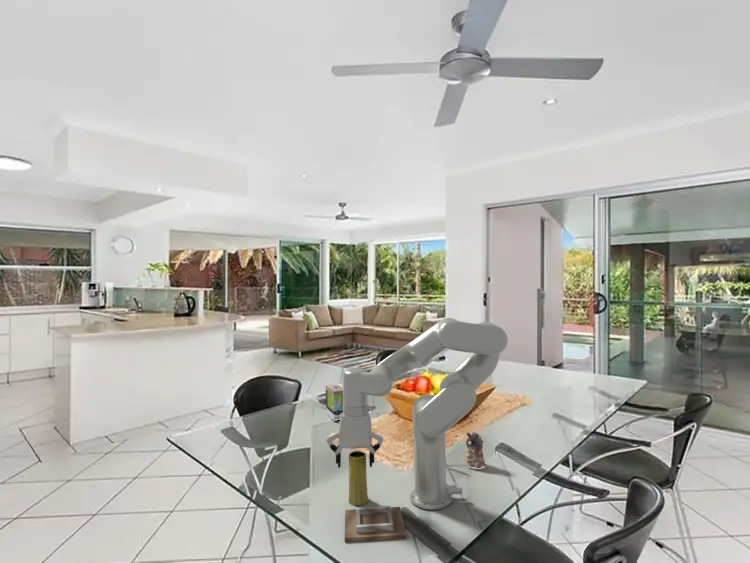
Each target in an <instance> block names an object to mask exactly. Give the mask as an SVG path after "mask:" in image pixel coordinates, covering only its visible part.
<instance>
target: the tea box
mask: <svg viewBox="0 0 750 563" xmlns="http://www.w3.org/2000/svg"><path fill="white" fill-rule="evenodd" d="M341 413H343V383H336V384H327V385H325V414H326V415H327V416H328V417H329V418H330V419H331V420H332V419H333V420H336V419H340V415H341ZM333 420H332V421H333Z"/></svg>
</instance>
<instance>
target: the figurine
mask: <svg viewBox="0 0 750 563" xmlns="http://www.w3.org/2000/svg"><path fill="white" fill-rule="evenodd" d="M466 436H467V439H466V441H465V444H466V451H465V455H464V463H465V462H466V464H467V465H469V466H471V467H476V468H481V467H483V466H485V467H486V462H485V461H486V460H485V458H484V451H483V450H484V447H483V446H484V445H483V444H484V441H483V439H482V437H481V435H479V433H477V432H476V431H474V432H472V433H470V432H466ZM469 442H470V443H469Z"/></svg>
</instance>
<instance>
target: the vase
mask: <svg viewBox="0 0 750 563" xmlns="http://www.w3.org/2000/svg"><path fill="white" fill-rule="evenodd" d="M367 475H368V474H367V454H366V452H365V451H362V450H354V451H351V452H349V454H348V487H349V488H348V502H349V504H351V505H353V506H362V505H365V504H367V503H368V502H369V499H370V498H369V496H368V482H367V479H368V477H367Z"/></svg>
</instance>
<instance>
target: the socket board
mask: <svg viewBox="0 0 750 563" xmlns="http://www.w3.org/2000/svg"><path fill="white" fill-rule="evenodd" d="M398 539H399V540H400V539H401V540H402V539H407V532H406V528H405V524H404V518H403V514H402V510H401V506H390V505H384V506H382V505H381V506H365V507H356V508H355V509H354V508H353V509H345V510H344V543H351V542H366V541H368V542H370V541H381V540H382V541H385V540H398Z"/></svg>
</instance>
